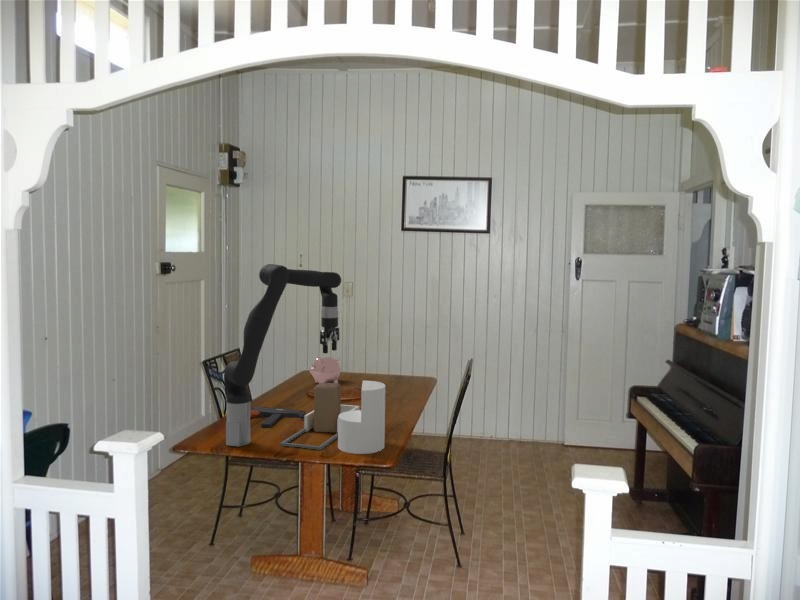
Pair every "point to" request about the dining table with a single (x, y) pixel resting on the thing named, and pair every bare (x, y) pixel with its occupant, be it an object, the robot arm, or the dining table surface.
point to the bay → (285, 443)
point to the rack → (310, 416)
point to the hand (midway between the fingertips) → (329, 351)
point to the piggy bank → (325, 370)
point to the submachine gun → (274, 414)
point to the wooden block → (326, 407)
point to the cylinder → (364, 422)
